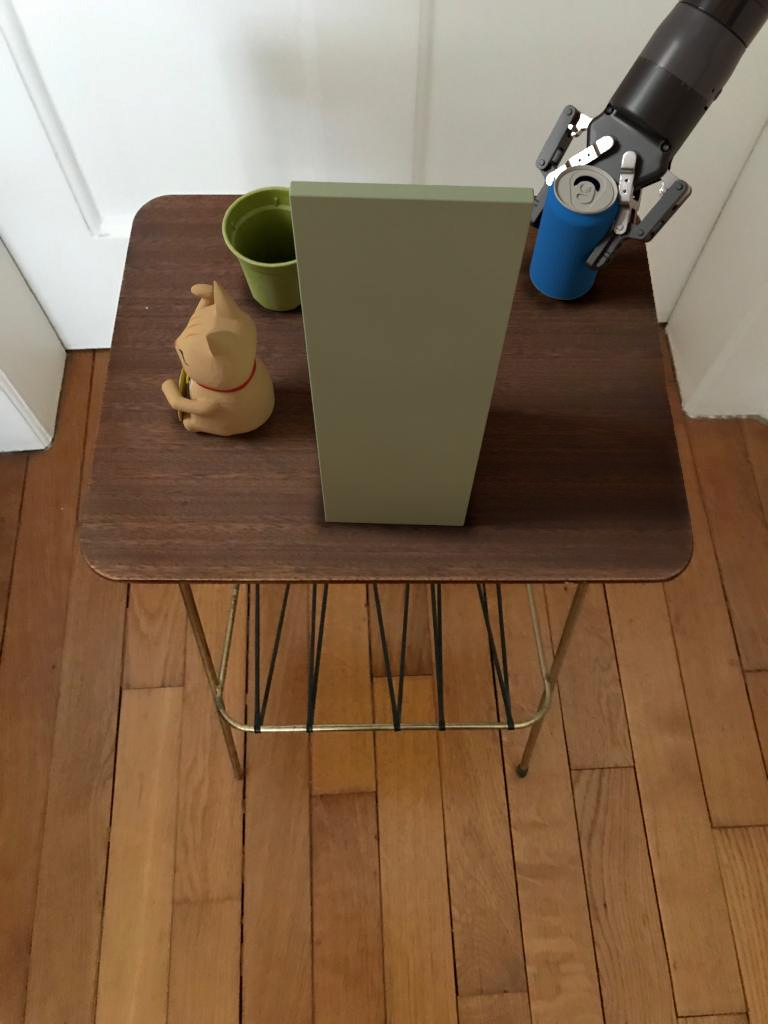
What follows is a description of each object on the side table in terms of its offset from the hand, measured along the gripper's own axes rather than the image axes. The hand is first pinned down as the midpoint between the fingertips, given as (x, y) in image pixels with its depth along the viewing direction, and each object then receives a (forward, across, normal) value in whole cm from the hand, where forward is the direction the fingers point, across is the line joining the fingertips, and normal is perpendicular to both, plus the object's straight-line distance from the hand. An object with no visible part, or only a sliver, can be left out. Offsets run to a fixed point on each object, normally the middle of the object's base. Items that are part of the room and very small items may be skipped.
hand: (561, 246), depth 84 cm
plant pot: (+18, -18, -9) cm, 27 cm away
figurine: (+27, -12, -18) cm, 35 cm away
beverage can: (+3, 0, +5) cm, 6 cm away
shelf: (+22, +4, -14) cm, 26 cm away
